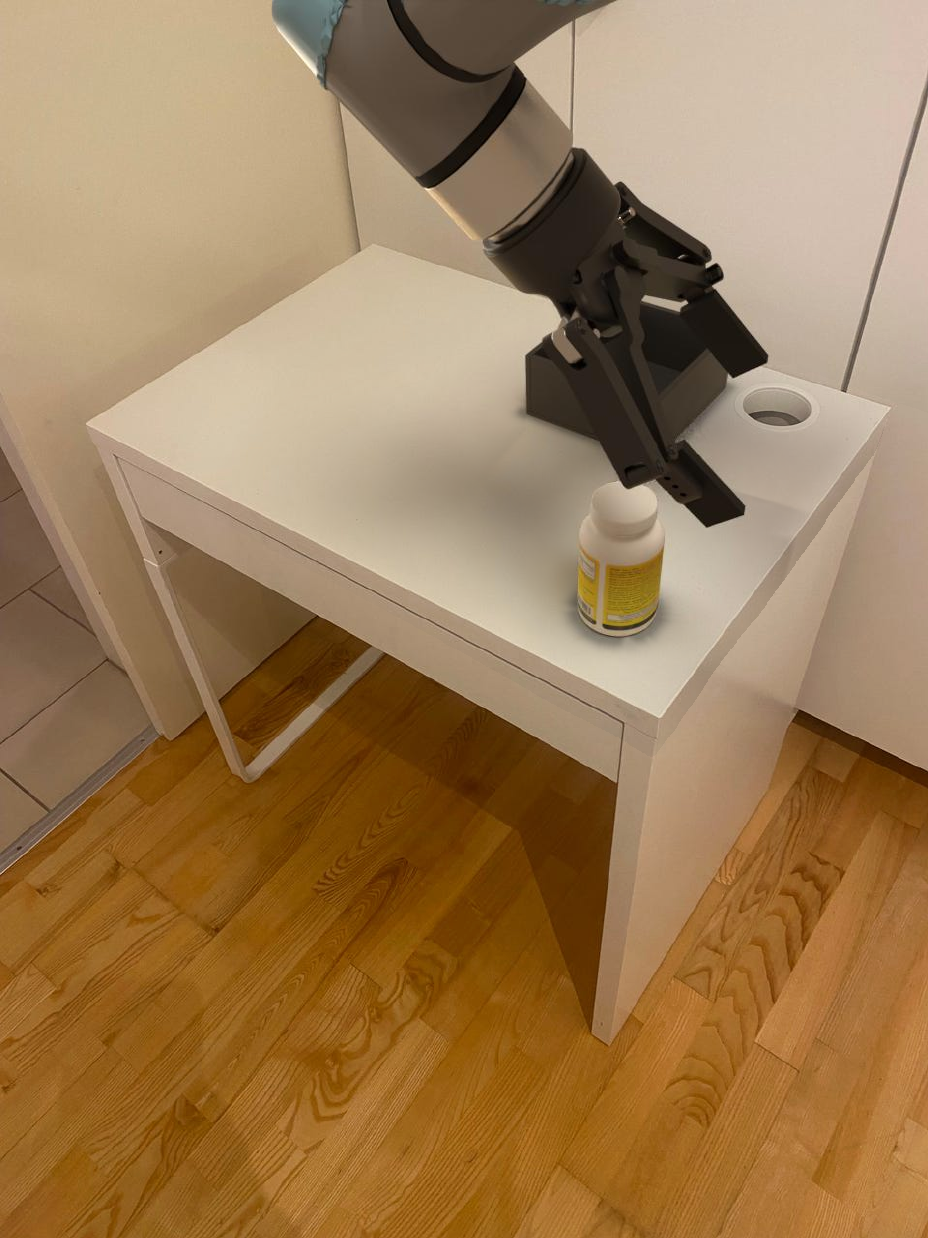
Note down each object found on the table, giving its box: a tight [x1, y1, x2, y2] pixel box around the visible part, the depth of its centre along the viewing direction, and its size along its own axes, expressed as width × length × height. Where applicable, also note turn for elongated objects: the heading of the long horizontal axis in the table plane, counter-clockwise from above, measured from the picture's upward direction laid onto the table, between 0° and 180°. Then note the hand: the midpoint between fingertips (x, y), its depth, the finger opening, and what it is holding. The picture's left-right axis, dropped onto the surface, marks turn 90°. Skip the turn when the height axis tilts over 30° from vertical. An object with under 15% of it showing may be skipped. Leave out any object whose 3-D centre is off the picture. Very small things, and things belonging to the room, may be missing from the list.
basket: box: [524, 300, 729, 445], centre depth 92 cm, size 14×14×6 cm
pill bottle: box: [577, 480, 666, 637], centre depth 71 cm, size 6×6×11 cm
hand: (739, 438), depth 63 cm, fingers open, 13 cm apart
